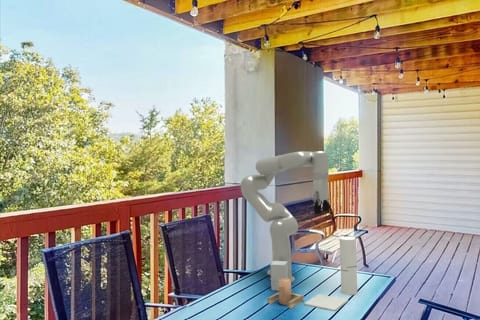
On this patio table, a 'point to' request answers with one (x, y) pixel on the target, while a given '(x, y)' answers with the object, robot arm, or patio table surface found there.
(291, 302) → the cradle
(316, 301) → the mat
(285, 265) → the supplement box
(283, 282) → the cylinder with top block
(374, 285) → the patio table surface
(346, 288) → the cylindrical container
